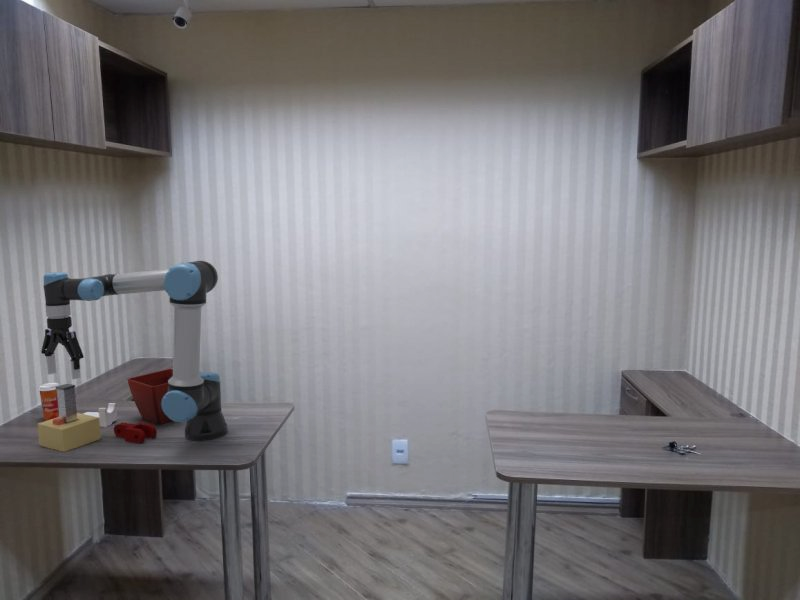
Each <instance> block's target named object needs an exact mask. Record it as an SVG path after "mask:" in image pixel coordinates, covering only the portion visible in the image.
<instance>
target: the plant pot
mask: <svg viewBox="0 0 800 600" xmlns="http://www.w3.org/2000/svg"><path fill="white" fill-rule="evenodd" d="M172 376H173V368H165V369H162V370H159V371H155V372H149V373H145V374H141V375H138V376H133V377H129V378H127V383H128V387H129V391H130V394H131V397H132V399H133V401H134V404H135V405H136V406H135V407H136V408H137V410H138V413H139V414H140V416H141V418H142V419H144V420H146V421H148V422H151V423H154V424H157V425H162V424H166V423H168V422H171V421H173V420H171V419H169V418H168V416H167V415H165V413H164V412H163V410H162V405H161V403H162V399H163V397H164V395H165V394H166V393H167V392H168V380H169V379H170V378H171V377H172Z"/></svg>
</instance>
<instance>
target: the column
mask: <svg viewBox="0 0 800 600" xmlns="http://www.w3.org/2000/svg"><path fill="white" fill-rule="evenodd" d="M75 388H76V384H71V383H64V384H62V385H61V384H59V386H56V389H57V398H58V408H59V418H60V419H63V421H64V424H68V423H71V422H74V421H77V413H78V411H77V400H76V391H75V390H76V389H75Z"/></svg>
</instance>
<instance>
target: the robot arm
mask: <svg viewBox="0 0 800 600" xmlns="http://www.w3.org/2000/svg"><path fill="white" fill-rule="evenodd" d="M218 279H219V275H218V271H217V269H216V268H215V266H214V265H213V264H212V263H210V262H208V261H205V260H194V261H189V262H181V263H180V262H179V263H178V264H175V265H173V266H172V267H170V268H165V269H156V270H146V271H145V270H144V271H136V272H135V271H133V272H123V273H117V274H116V273H109V274H104V275H98V276H92V277H91V276H90V277H84V278H69V275H68V273H67V272H62V271H57V272H48V273H45V274H43V292H44V301H45V316H46V317H47V318H46V325H47V328H46V329H44V338H43V342H42V345H41V346H42V347H41V351H40V352H41V354H43V355H44V356H45V358H46V359H45V360H46V361H45V362H46V370H47V375H53V374H57V365H56V364H57V363H56V355H55V351H56V349H57V347H58V345H59V344H60V345H61V346H63V347H64V349H65V350H66V352H67V354H68V356H69V357H70V373H71V374H70V375H71V379H72V380H75V379H78V378H81V363H80V360H81V359H84V358H85V357H84V354H83V352H82V348H81V345H80V343H79V340H78V338H77V333H76V331H70V328H72V326H73V323H72V317H71V315H72V312H71V311H72V310H71V301H85V302H91V301H98V300H100V299H101V298H102V297H108V296H118V295H127V294H129V295H130V294H138V293H150V292H151V293H152V292H163V291H165V293H167V295H168V297H169V304H170V305H172V307H173V308H174V309H173V311H174V315H173V350H172V353H173V354H172V355H173V356H172V369H173V376H172V377H171V378H170V379H169V380H168V392H167V393H166V394H165V395H164V397H163V399H162V403H161V405H162V410H163V412H164V413H165V415H167V416H168V418H169V419H171V420H172V421H173V422H176V423H186V425H185V428H184V437H185V439H187V440H191V441H209V440H214V439H219V438H221V437H223V436H225V435H226V434H227V433H228V425H227V422H226V420H225V416H224V415H223V412H222V399H221V398H222V395H221V393H222V392H221V380H220V379H221V378H220V375H219V374H218V373H217V372H213V371H212V372H211V371H200V363H201V361H200V360H201V359H200V358H201V332H202V331H201V329H202V328H201V327H202V307H204V306H205V305H206V304H207V294H208V293H210V292H212V291H213V289H215V287H216V285H217V283H218Z"/></svg>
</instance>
